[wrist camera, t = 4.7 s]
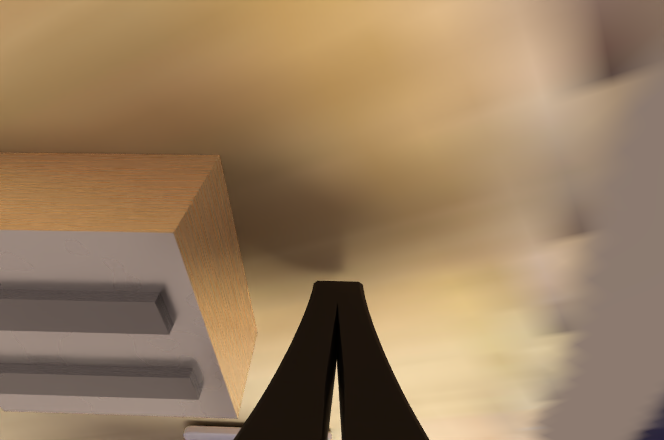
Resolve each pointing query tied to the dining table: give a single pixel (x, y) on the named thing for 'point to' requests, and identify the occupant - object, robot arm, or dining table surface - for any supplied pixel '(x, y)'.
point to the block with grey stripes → (121, 286)
